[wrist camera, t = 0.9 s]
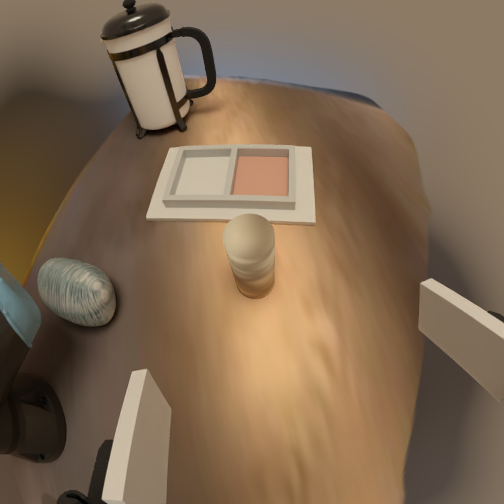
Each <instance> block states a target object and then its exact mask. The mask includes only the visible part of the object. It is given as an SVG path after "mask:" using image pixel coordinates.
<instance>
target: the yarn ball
mask: <svg viewBox="0 0 504 504" xmlns="http://www.w3.org/2000/svg"><path fill="white" fill-rule="evenodd" d="M37 283H38V290H39V294H40V297H41V299H42V301H43V303H44V304H45V306H46V307H47V308H48V309H50V310H51V311H52V312H53V313H55V314H56V315H58V316H59V317H61V318H63V319H66V320H68V321H70V322H73V323H75V324H79V325H83V326H101V325H105V324H106V323H107V322H109V321H110V320H111V318H112V316H113V315H114V312H115V308H116V298H115V292H114V288H113V285H112V283H111V281H110V279H109V278H108V276H107V275H106V274H105V273H104V272H103V271H102V270H100V269H99V268H97V267H95V266H93V265H91V264H89V263H86V262H83V261H79V260H75V259H69V258H53V259H50V260H48V261H47V262H46V263H45V264H44V265H43V266H42V267H41V268H40V270H39V273H38V279H37Z"/></svg>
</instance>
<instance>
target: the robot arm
mask: <svg viewBox="0 0 504 504" xmlns="http://www.w3.org/2000/svg"><path fill="white" fill-rule="evenodd" d="M40 325H41V313H40V310H39V308H38V306H37V304H36V303H35V301H34V300H33V299H32V298H31V296H30V295H29V294H28V293H27V291H26V290H25V289H24V288H23V287H22V286H21V285H20V283H19V282H18V281H17V280H16V279H15V278H14V277H13V276H12V274H11V273H10V272H9V271H8V270H7V269H6V268H5V267H4V266H3V265H2V264H1V263H0V454H10V455H13V456H16V457H18V458H21V459H24V460H27V461H31V462H34V463H45V462H51V461H53V460H55V459H57V458H58V457H59V456H60V454H61V453H62V451H63V448H64V445H65V440H66V425H65V419H64V414H63V411H62V408H61V405H60V403H59V400H58V398H57V396H56V395H55V393H54V391H53V390H52V389H51V387H50V386H49V385H48V384H47V383H46V382H45V381H44V380H43V379H41V378H40V377H38V376H36V375H32V374H28V373H18V371H19V369H20V367H21V365H22V363H23V361H24V359H25V357H26V355H27V353H28V351H29V349H30V348H32V345H33V344H32V342H33V340H34V337H35V335H36V333H37V331H38V329H39V327H40ZM418 329H419V330H420V331H421V332H422V333H424V334H425V335H426V336H427V337H428V338H429V339H430V340H432V341H433V342H434V343H435V344H436V345H437V346H439V347H440V348H441V349H442V350H443V351H444V352H445V353H447V354H448V355H449V356H450V357H451V358H452V359H454V361H456V362H457V363H458V364H459V365H460V366H461V367H462V368H463V369H464V370H465V371H467V372H468V373H469V374H470V375H471V376H472V377H473V378H474V379H475V380H476V381H478V383H480V384H481V385H482V386H483V387H484V388H485V389H486V390H487V391H488V392H489V393H490V394H491V395H492V396H493V397H494V398H496V399H497V400H498V401H499V402H501V401H502V400H504V317H503V316H502V315H500V314H498V313H495V312H491V311H488V312H486V311H484V310H483V309H481V308H480V307H478V306H476V305H475V304H473V303H472V302H470V301H468V300H467V299H465V298H463V297H462V296H460V295H459V294H457V293H455V292H454V291H452V290H450V289H449V288H447V287H445V286H444V285H442V284H440V283H438V282H437V281H435V280H433V279H428V280H426V281H424V282H422V283H420V308H419V326H418ZM171 410H172V409H171V408H170V406H169V405H168V403H167V401H166V400H165V398H164V397H163V395H162V393H161V392H160V390H159V388H158V387H157V385H156V383H155V381H154V380H153V378H152V376H151V374H150V373H149V371H148V369H143V370H138V371H132V374H131V378H130V381H129V385H128V388H127V392H126V395H125V399H124V402H123V406H122V410H121V414H120V417H119V421H118V425H117V429H116V433H115V437H114V440H105V441H104V443H103V444H102V445H101V447H100V448H99V450H98V454H97V458H96V462H95V466H94V470H93V474H92V478H91V483H90V487H89V492H88V497H86V496H85V495H83V494H82V493H81V492H78V491H76V490H69V491H67V492H64V493H63V494H62V495H61V496H60V497H59V499H58V500H57V504H166V491H167V467H168V450H169V435H170V422H171Z"/></svg>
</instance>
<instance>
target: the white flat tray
mask: <svg viewBox="0 0 504 504" xmlns="http://www.w3.org/2000/svg"><path fill="white" fill-rule="evenodd" d="M242 214H257V215H260V216H262V217H264V218H266V219H267V220H268V221H269V222H270V223H271V224H292V225H313V226H315V200H314V181H313V166H312V152H311V147H298V146H294V145H251V144H243V145H200V146H181V147H177V148H170V149H169V152H168V154H167V157H166V160H165V162H164V165H163V168H162V171H161V173H160V176H159V179H158V182H157V185H156V188H155V191H154V194H153V197H152V200H151V203H150V206H149V209H148V213H147V216H146V219H147V221H193V222H230V221H231V220H232V219H233V218H235V217H237V216H239V215H242Z"/></svg>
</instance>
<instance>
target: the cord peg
mask: <svg viewBox="0 0 504 504" xmlns="http://www.w3.org/2000/svg"><path fill="white" fill-rule="evenodd" d="M223 243H224V246H225V249H226V252H227V256H228V259H229V262H230V265H231V268H232V271H233V274H234V277H235V281H236V284H237V287H238V289H239V291H240V292H241V293H242V294H243V295H244V296H246V297H248V298H251V299H259V298H262V297H265V296H266V295H268V294H269V293H270V292H271V290H272V289H273V286H274V255H275V236H274V229H273V226H272V225H271V223H270V222H269V221H268V220H267V219H266V218H264V217H262V216H260V215H257V214H242V215H239V216H237V217H235V218H233V219H232V220H231V221H230V222H229V223H228V224H227V225H226V227H225V228H224V231H223Z"/></svg>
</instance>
